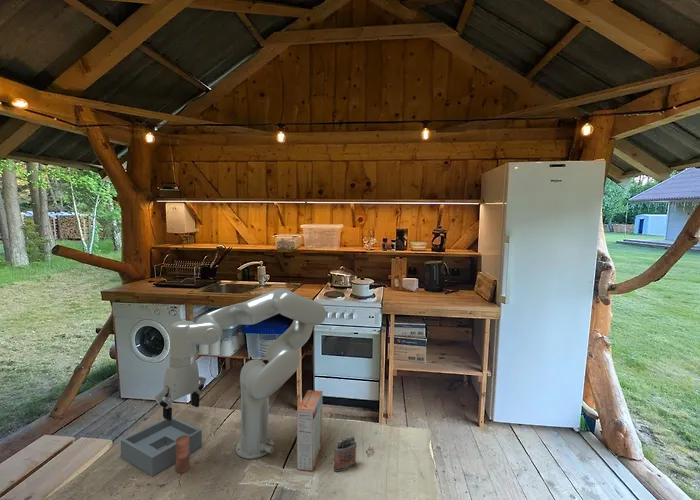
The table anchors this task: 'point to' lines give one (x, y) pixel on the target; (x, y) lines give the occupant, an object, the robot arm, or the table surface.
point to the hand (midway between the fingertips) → (181, 412)
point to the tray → (158, 444)
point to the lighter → (345, 454)
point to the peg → (182, 454)
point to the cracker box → (309, 430)
